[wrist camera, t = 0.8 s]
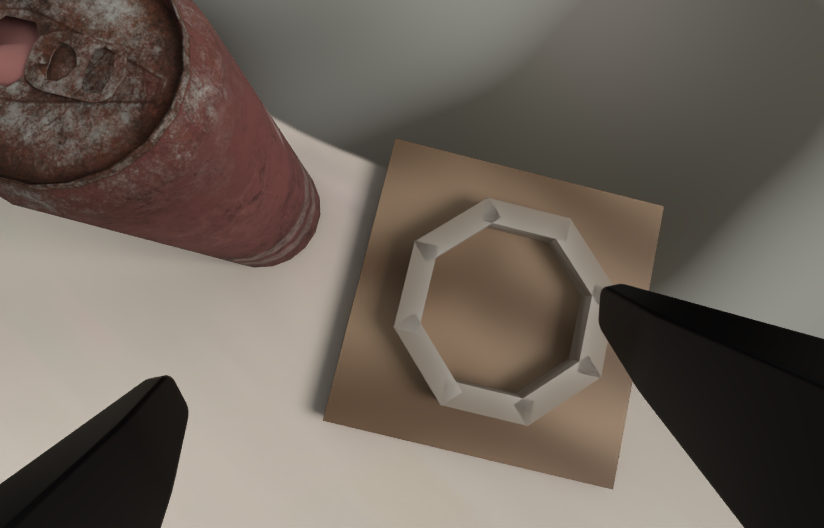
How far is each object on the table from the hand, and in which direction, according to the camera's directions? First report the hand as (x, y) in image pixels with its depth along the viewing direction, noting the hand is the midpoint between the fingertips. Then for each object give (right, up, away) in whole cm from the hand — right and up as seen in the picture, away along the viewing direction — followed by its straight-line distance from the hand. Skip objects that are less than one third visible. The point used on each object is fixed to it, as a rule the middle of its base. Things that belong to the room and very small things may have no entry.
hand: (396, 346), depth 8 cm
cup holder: (+5, -1, +14) cm, 14 cm away
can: (-8, +4, +14) cm, 16 cm away
